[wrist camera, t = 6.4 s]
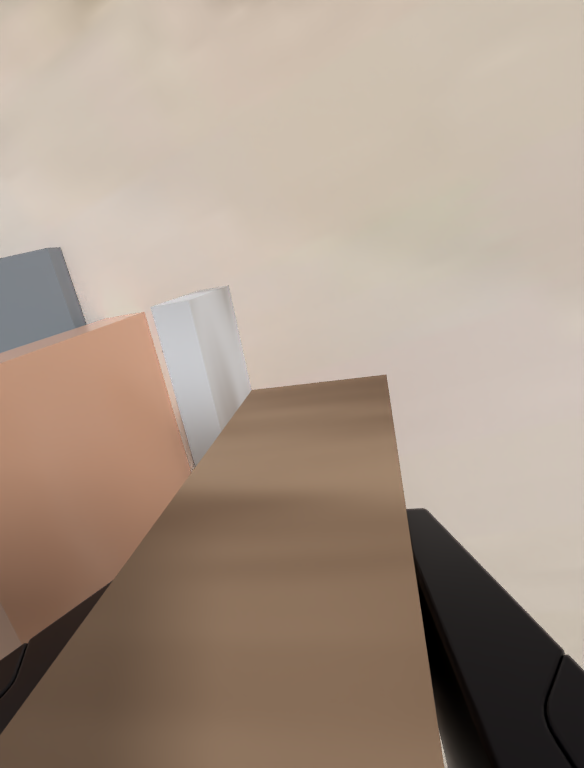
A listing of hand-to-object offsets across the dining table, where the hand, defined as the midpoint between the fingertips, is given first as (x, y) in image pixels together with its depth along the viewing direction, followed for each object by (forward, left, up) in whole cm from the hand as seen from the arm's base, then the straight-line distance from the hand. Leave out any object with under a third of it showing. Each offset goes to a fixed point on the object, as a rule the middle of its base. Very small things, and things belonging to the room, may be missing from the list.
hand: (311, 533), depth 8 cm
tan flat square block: (0, +7, -7) cm, 9 cm away
